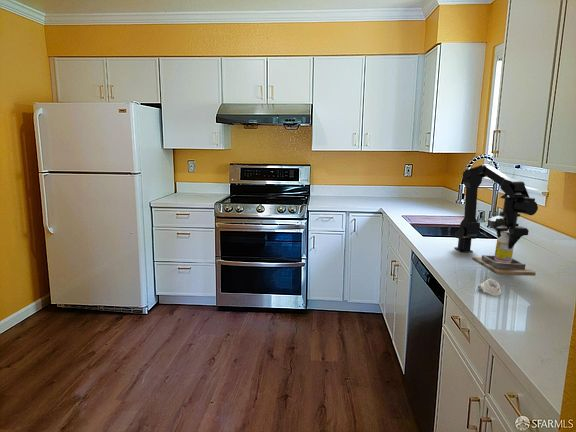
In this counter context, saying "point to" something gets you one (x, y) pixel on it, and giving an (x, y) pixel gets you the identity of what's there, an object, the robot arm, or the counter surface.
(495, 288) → the whipped cream
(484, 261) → the holder board
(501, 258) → the supplement bottle
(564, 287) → the counter surface
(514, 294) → the counter surface
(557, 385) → the counter surface
